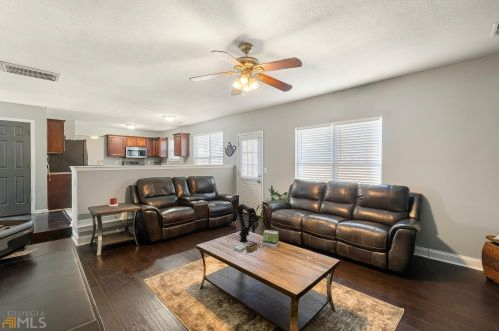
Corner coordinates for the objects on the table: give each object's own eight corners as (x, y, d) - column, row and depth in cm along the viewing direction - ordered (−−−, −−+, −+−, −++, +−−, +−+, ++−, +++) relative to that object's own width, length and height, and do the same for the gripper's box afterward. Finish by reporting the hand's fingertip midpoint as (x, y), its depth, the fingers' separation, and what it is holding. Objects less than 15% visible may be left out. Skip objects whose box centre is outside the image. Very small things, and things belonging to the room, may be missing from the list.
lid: (240, 251, 226) (240, 248, 226) (235, 249, 230) (235, 246, 230) (246, 247, 234) (246, 245, 234) (241, 246, 238) (241, 244, 238)
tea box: (262, 245, 242) (262, 231, 242) (265, 242, 252) (265, 229, 251) (276, 247, 237) (276, 233, 236) (278, 244, 246) (278, 231, 246)
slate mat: (233, 249, 230) (233, 249, 230) (241, 246, 240) (241, 245, 240) (240, 252, 224) (240, 251, 224) (248, 248, 235) (248, 247, 234)
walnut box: (250, 253, 222) (250, 247, 222) (246, 251, 225) (246, 245, 225) (257, 249, 232) (257, 243, 232) (253, 248, 235) (253, 242, 235)
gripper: (251, 223, 229) (251, 238, 229) (262, 219, 244) (261, 233, 244) (243, 221, 236) (243, 236, 236) (253, 217, 250) (253, 231, 251)
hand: (250, 234), depth 242 cm, fingers open, 9 cm apart
